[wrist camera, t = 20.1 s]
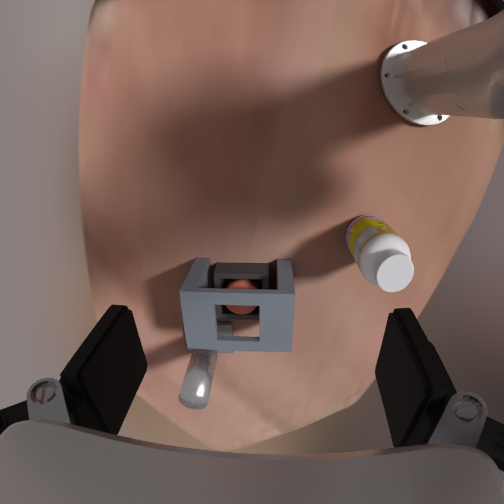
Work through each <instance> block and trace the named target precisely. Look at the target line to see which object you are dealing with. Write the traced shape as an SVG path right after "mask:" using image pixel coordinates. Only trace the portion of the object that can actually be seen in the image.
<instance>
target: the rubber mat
mask: <svg viewBox="0 0 504 504" xmlns="http://www.w3.org/2000/svg"><path fill="white" fill-rule="evenodd" d="M217 332H218V335H219V336H233V328H232V323H227V322H217ZM193 349H194V348H188V351H193ZM233 352H234V351H231V350H219V351H218V353H233Z"/></svg>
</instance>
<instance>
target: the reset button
mask: <svg viewBox="0 0 504 504" xmlns="http://www.w3.org/2000/svg"><path fill="white" fill-rule="evenodd" d="M226 289H259V287H258V284H257V283H256V281H255V280H254V279H231V280H230V281H229V283H228V285H227V288H226ZM226 307H227V308H228V309H229V310H230V311H232V312H234V313H236V314H248V313H250V312H252V311H253V310H254V309H255V308H256V307H257V306H248V305H226Z"/></svg>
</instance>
